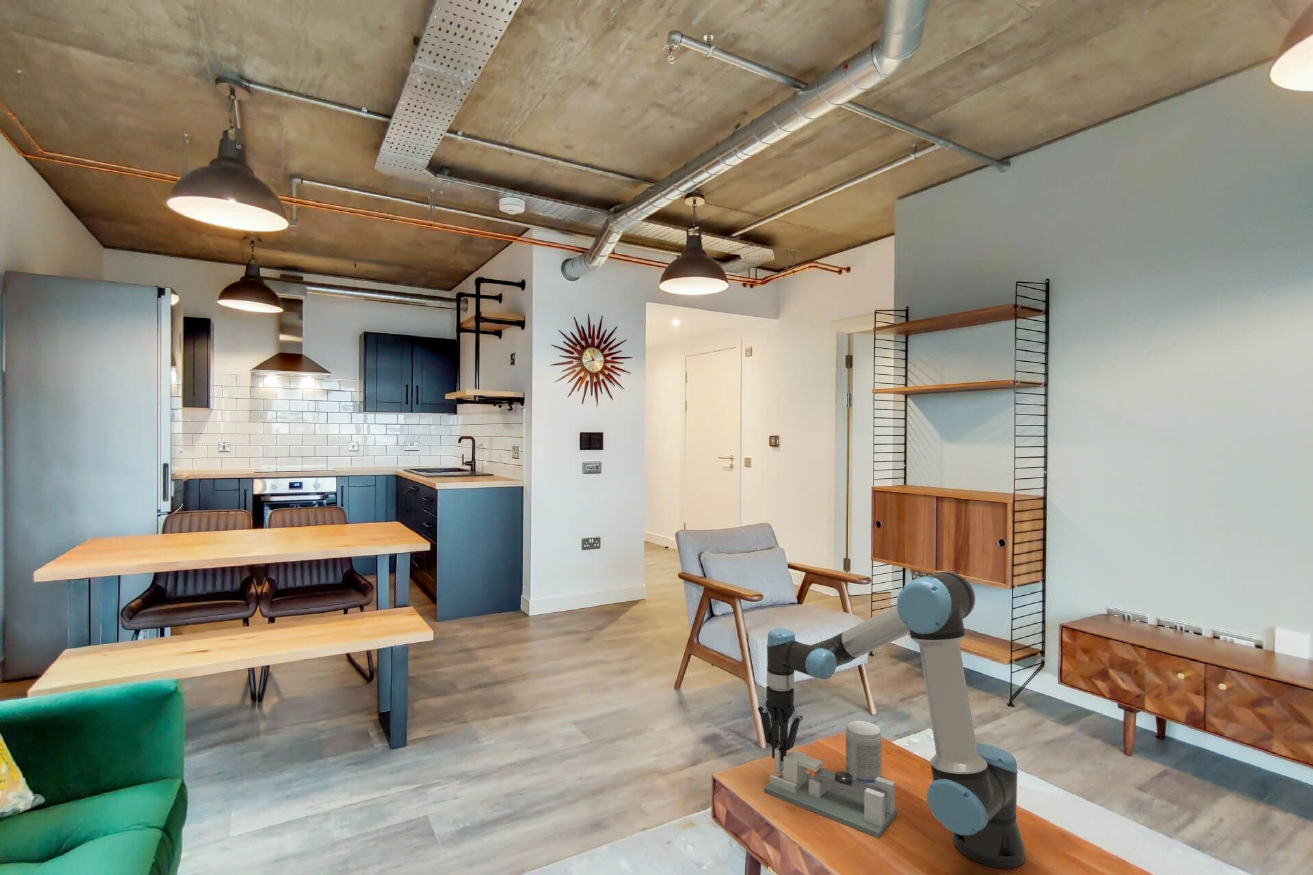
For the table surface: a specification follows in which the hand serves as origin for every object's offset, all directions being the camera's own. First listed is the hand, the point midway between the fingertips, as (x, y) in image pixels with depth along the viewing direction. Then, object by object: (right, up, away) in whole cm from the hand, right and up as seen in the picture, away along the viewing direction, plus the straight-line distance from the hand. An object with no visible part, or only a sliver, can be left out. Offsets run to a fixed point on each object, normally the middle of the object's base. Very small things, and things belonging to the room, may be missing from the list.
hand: (779, 771), depth 179 cm
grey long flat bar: (+16, +2, -13) cm, 20 cm away
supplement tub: (+24, -4, +2) cm, 24 cm away
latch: (+6, -2, -5) cm, 7 cm away
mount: (+11, -3, -10) cm, 15 cm away
